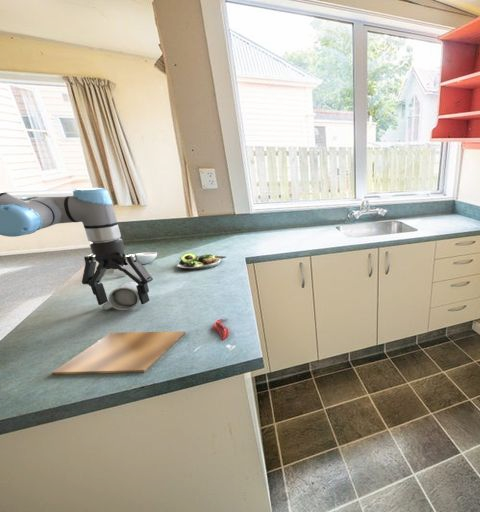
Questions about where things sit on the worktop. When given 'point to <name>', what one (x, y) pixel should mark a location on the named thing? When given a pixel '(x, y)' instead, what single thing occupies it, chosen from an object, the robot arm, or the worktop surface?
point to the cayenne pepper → (221, 329)
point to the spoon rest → (142, 258)
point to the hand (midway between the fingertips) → (124, 302)
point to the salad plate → (198, 261)
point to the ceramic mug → (123, 297)
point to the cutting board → (121, 353)
